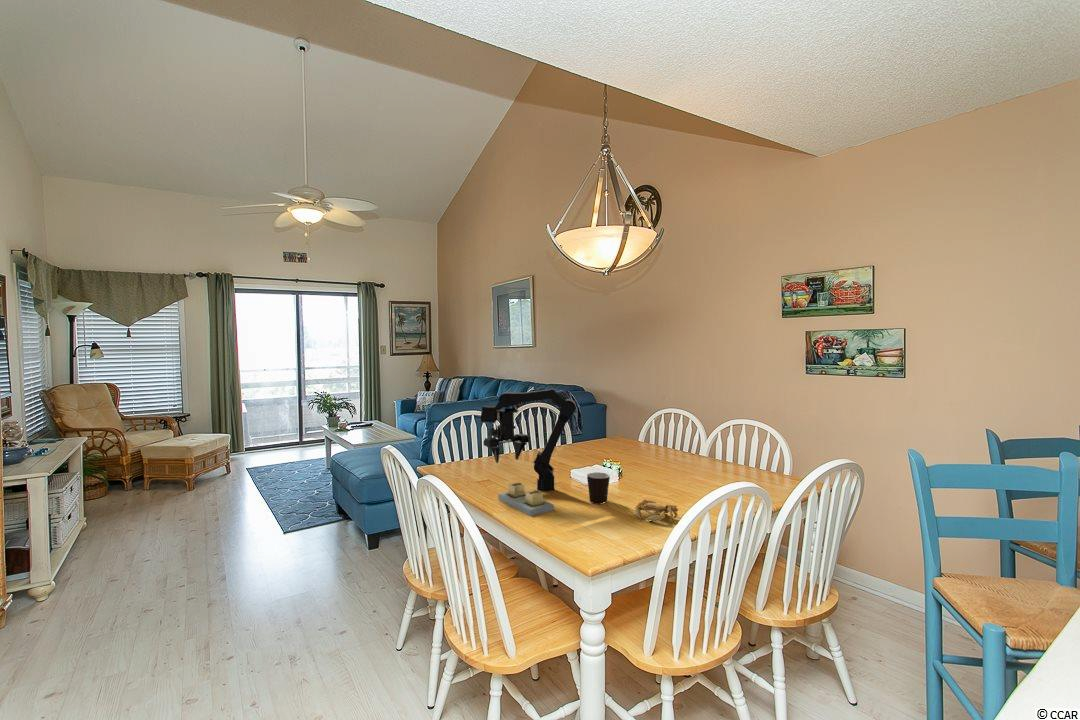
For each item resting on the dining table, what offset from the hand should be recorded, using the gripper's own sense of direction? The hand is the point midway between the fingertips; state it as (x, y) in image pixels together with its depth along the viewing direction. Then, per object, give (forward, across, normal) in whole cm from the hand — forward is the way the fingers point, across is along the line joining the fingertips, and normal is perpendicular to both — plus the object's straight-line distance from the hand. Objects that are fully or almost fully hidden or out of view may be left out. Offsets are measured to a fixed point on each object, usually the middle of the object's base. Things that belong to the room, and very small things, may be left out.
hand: (506, 461), depth 205 cm
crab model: (+12, -26, +56) cm, 63 cm away
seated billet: (+11, +5, +28) cm, 30 cm away
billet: (+11, +5, +16) cm, 20 cm away
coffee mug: (+12, -20, +32) cm, 40 cm away
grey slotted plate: (+12, +5, +22) cm, 25 cm away
